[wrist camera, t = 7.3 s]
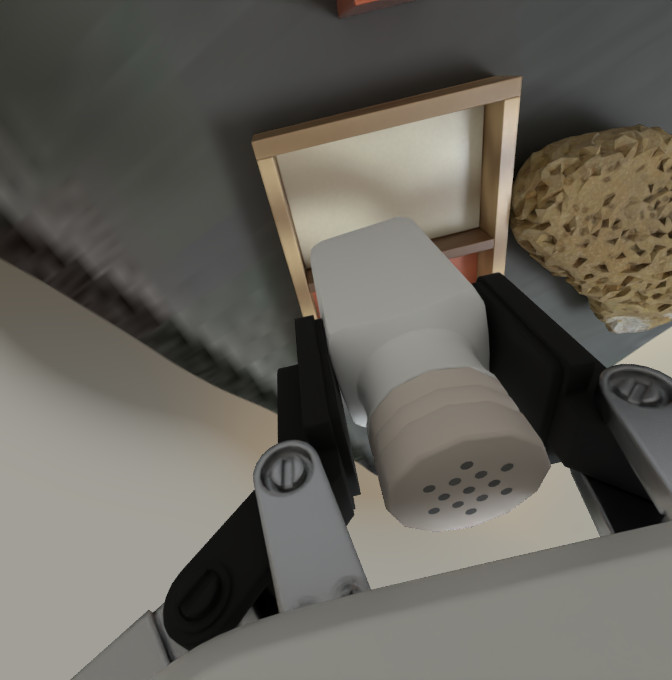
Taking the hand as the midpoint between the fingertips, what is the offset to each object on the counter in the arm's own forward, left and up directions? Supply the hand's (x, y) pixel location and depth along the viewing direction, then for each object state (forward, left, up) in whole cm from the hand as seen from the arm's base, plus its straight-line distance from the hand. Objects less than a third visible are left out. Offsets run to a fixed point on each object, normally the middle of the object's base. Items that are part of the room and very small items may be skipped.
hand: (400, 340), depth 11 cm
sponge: (+8, +21, -19) cm, 30 cm away
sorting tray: (+6, +4, -19) cm, 20 cm away
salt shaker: (0, 0, -5) cm, 5 cm away
